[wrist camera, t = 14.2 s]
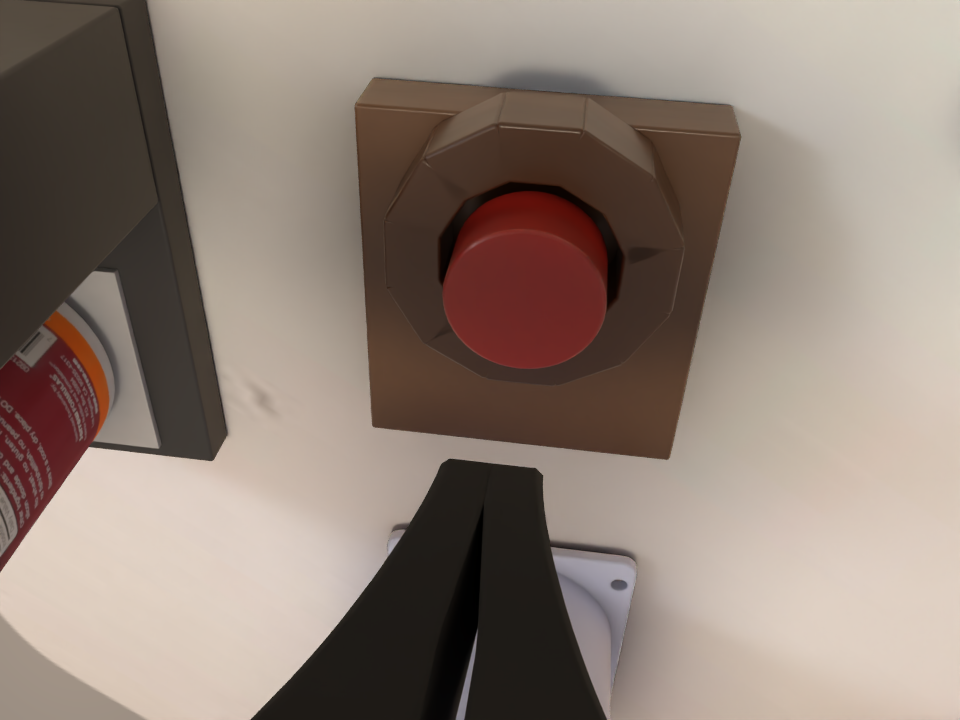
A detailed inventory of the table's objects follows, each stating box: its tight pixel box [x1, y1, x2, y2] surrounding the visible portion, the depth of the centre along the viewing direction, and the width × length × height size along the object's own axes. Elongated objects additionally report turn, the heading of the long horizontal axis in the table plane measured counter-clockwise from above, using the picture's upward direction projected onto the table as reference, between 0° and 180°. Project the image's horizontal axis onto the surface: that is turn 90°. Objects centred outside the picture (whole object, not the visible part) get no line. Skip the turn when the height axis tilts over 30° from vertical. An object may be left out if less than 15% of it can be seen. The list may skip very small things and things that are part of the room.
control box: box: [355, 78, 741, 460], centre depth 20 cm, size 10×8×4 cm
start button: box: [442, 191, 608, 369], centre depth 18 cm, size 3×3×2 cm
